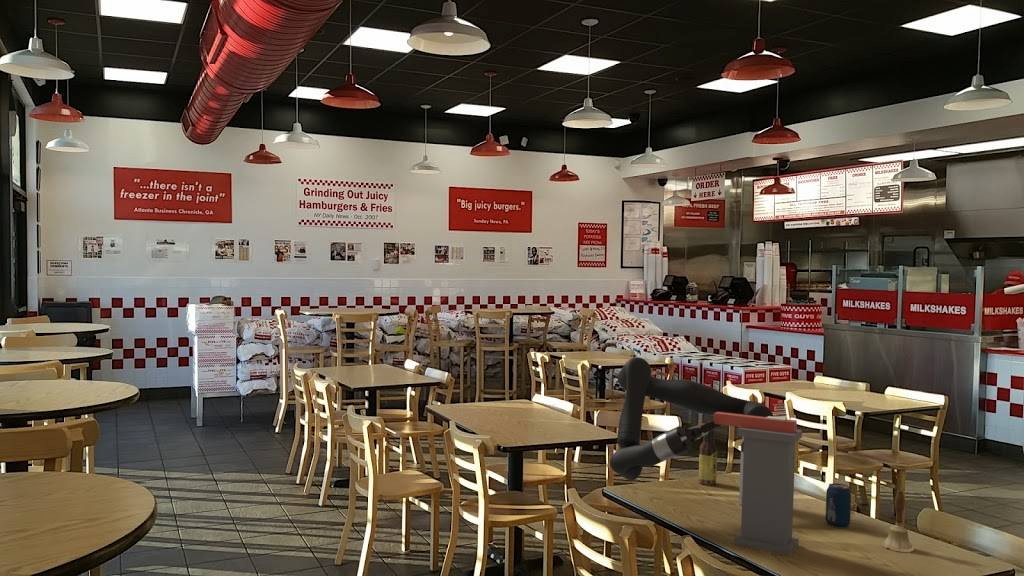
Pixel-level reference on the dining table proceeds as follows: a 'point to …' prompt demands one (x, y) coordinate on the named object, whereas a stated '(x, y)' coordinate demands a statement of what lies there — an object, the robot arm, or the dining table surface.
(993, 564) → the dining table surface
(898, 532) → the hand bell
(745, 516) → the pedestal
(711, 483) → the sauce bottle
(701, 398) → the robot arm
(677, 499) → the dining table surface
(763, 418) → the red bar
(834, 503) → the soda can
